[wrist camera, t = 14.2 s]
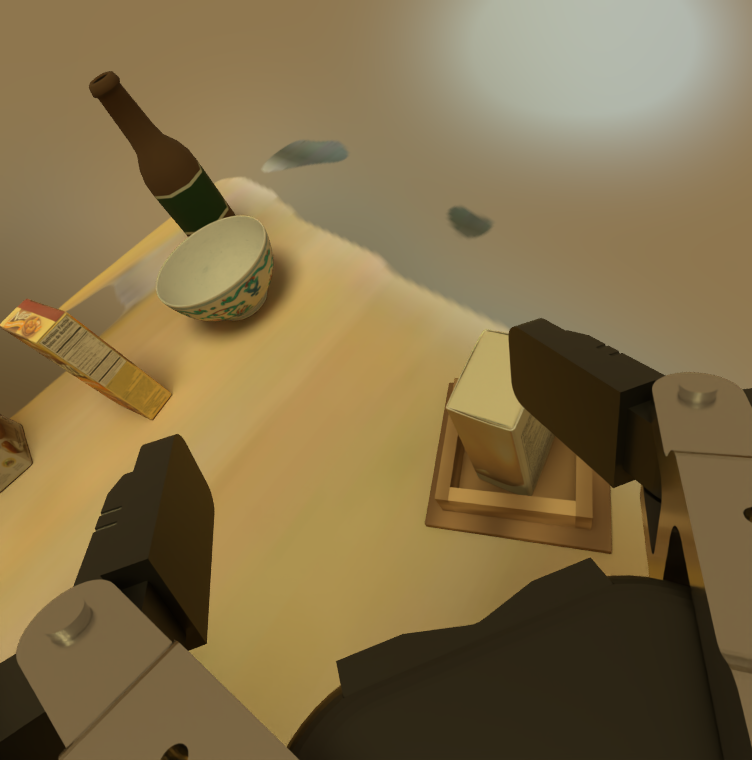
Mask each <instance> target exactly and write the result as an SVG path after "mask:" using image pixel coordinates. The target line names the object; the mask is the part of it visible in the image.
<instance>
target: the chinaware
mask: <svg viewBox="0 0 752 760" xmlns="http://www.w3.org/2000/svg"><path fill="white" fill-rule="evenodd" d="M272 272H273V253H272V248H271V244H270V240H269V237H268V235H267V232H266V230H265V228H264V226H263V224H262V223H261V222H260V221H259V220H257V219H256V218H254V217H251V216H245V215H238V216H231V217H227V218H223V219H220V220H217V221H215V222H213V223H210V224H208V225H206V226H205V227H203V228H201V229H199V230H198V231H196V232H195V233H193V234H192V235H191V236H189V237H188V238H187V239H185V240H184V241H183V242H182V243H181V244H180V245H179V246H178V247H177V248H176V249H175V250H174V251H173V252H172V253H171V254H170V256H169V257H168V258H167V260H166V261H165V263H164V264H163V266H162V268H161V270H160V272H159V274H158V277H157V281H156V292H157V295H158V297H159V299H160V300H161V301H162V302H163V303H164V304H166V305H167V306H168V307H170V308H172V309H173V310H175V311H177V312H179V313H181V314H183V315H186V316H188V317H191V318H194V319H198V320H203V321H223V320H231V321H238V320H242V319H245V318H247V317H249V316H251V315H253V314H254V313H255V312H257V311H258V310H259V309H260V308H261V306H262V305H263V304H264V302H265V300H266V298H267V289H268V286H269V284H270V281H271V277H272Z"/></svg>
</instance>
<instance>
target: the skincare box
mask: <svg viewBox="0 0 752 760" xmlns="http://www.w3.org/2000/svg"><path fill="white" fill-rule="evenodd" d="M508 336H509V333H504V332H499V331H492V330H487V329H485V330H484V331H483V332H482V334H481V336H480V337H479V339H478V341H477V343H476V344H475V346H474V348H473V350H472V352H471V354H470V356H469V358H468V360H467V362H466V364H465V366H464V368H463V370H462V372H461V375H460V377H459V379H458V381H457V383H456V385H455V387H454V390H453V392H452V394H451V396H450V399H449V401H448V403H447V405H446V409H447V411H448V413H449V416H450V418H451V420H452V422H453V424H454V426H455V428H456V430H457V433H458V435H459V437H460V439H461V441H462V443H463V446H464V448H465V450H466V452H467V454H468V456H469V458H470V461H471V463H472V465H473V467H474V469H475V471H476V473H477V476H478V478H480V479H482V480H484V481H486V482H489V483H491V484H493V485H496V486H498V487H500V488H503V489H505V490H508V491H510V492H513V493H515V494H518V495H525V496H532V493H533V491H534V489H535V486H536V484H537V482H538V479H539V477H540V474H541V472H542V469H543V467H544V464H545V462H546V459H547V456H548V454H549V451H550V448H551V445H552V442H553V439H554V436H555V435H554V434H553V433H551V432H550V431H549V430H548V429H547V428H546V427H545V426H544V425H542V424H541V423H540V422H539V421H538V420H537V419H536V418H535V417H534V416H532V415H531V414H530V413H529V412H528V411H527V410H526V409H525V408H524V407H522V406H521V404H520V403H519V402H518V400H517V398H516V396H515V394H514V392H513V388H512V383H511V370H510V355H509V340H508Z"/></svg>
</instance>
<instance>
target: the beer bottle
mask: <svg viewBox="0 0 752 760" xmlns="http://www.w3.org/2000/svg"><path fill="white" fill-rule="evenodd" d="M89 89H90V91H91V93H92V95H93V97H95V98H98V99H99V100H100V102H101V103H102V105H103V106H104V107H105V109H106V110H107V111H108V113H109V114H110V116H111V117H112V118H113V120H114V121H115V123H116V124H117V125H118V126H119V128H120V129H121V131H122V132H123V134H124V135H125V136H126V138H127V139H128V140H129V142H130V143H131V145H132V147H133V149H134V150H135V152H136V154H137V157H138V163H139V168H140V172H141V175H142V177H143V180H144V182H145V184H146V185H147V187H148V188H149V190H150V191H151V193H152V194H153V195H154V196H155V198H156V199H157V200H158V201H159V203H160V204H161V205H162V206H163V207H164V209H165V210H166V211H167V212H168V213H169V215H170V216H171V217H172V218H173V219H174V220H175V222H176V223H177V224H178V225H179V226H180V228H181V229H182V230H183V231H184V232H185V234H186V235H187V236H188V237H189V236H191V235H192V234H193V233H195V232H196V231H198V230H199V229H201V228H203V227H205V226H206V225H208V224H210V223H213V222H215V221H217V220H220V219H223V218H227V217H231V216H236V215H235V214H234V212H233V211H232V209H231V208H230V206H229V205H228V204H227V202H226V201H225V199H224V198H223V196H222V195H221V194H220V192H219V191H218V189H217V188H216V186H215V185H214V184H213V182H212V181H211V179H210V178H209V176H208V175H207V174H206V172H205V171H204V169H203V168H202V167H201V165H200V164H199V162H198V161H197V160H196V158H195V157H194V156H193V155H192V153H191V152H190V151H189V150H188V149H187V148H186V147H184V146H183V145H182V144H181V143H180V142H178V141H177V140H175V139H173V138H170V137H168V136H166V135H164V134H162V132H161V131H160V130H159V129H158V128H157V127H156V126H155V125H154V124H153V123H152V122H151V121H150V119H149V118H148V117H147V116H146V115H145V113H144V112H143V111H142V110H141V108H140V107H139V106H138V105H137V103H136V102H135V101H134V100H133V99H132V97H131V96H130V95H129V94H128V93H127V91H126V90H125V89H124V88H123V86H122V85H121V84H120V79H119V77H118V76H117V75H116V74H115V73H113V72H112V71H109V72H105V73H102V74H101V75H99V76H97V77H96V78H95V79H94V80H93V81H91V82H90V85H89Z"/></svg>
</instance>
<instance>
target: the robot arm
mask: <svg viewBox="0 0 752 760" xmlns="http://www.w3.org/2000/svg"><path fill="white" fill-rule="evenodd" d="M508 340H509V355H510V370H511V383H512V388H513V392H514V394H515V396H516V398H517V400H518V402H519V403H520V404H521V406H522V407H524V408H525V409H526V410H527V411H528V412H529V413H530V414H531V415H532V416H534V417H535V418H536V419H537V420H538V421H539V422H540V423H541V424H542V425H544V426H545V427H546V428H547V429H548V430H549V431H550V432H551V433H553V434H554V435H555V436H556V437H557V438H558V439H559V440H560V441H561V442H563V443H564V444H565V445H566V446H567V447H568V448H569V449H570V450H571V451H573V452H574V453H575V454H576V455H577V456H578V457H579V458H580V459H582V460H583V461H584V462H585V463H586V464H587V465H588V466H589V467H590V468H592V469H593V470H594V471H595V472H596V473H597V474H598V475H599V476H601V477H602V478H603V479H604V480H605V481H606V482H607V483H608V484H609V485H611V486H612V487H613V488H615V487H617V486H620V485H623V484H625V483H628V482H630V481H633V480H636V481H638V482H639V483H640V484H641V491H640V502H641V510H642V519H643V527H644V535H645V544H646V552H647V561H648V571H649V577H641V576H630V575H628V576H606V575H605V574H604V573H603V572H602V570H601V569H600V568H599V567H598V566H597V565H596V563H595V562H594V561H593V560H592V559H591V558H588V559H586V560H583V561H581V562H578V563H576V564H573V565H571V566H568V567H566V568H563V569H561V570H559V571H556V572H554V573H551V574H549V575H546V576H544V577H541V578H539V579H537V580H534V581H532V582H530V583H529V584H528V585H527V586H525V587H524V588H523V589H521V590H520V591H519V592H518V593H516V594H515V595H514V596H513V597H511V598H510V599H509V600H507V601H506V602H505V603H504V604H502V605H501V606H500V607H499V608H497V609H496V610H495V611H493V612H492V613H491V614H490V615H488V616H487V617H486V618H484V619H483V620H482V621H480V622H478V623H476V624H473V625H468V626H460V627H453V628H445V629H438V630H430V631H423V632H415V633H407V634H402V635H399V636H397V637H394V638H392V639H390V640H387V641H385V642H382V643H380V644H377V645H375V646H372V647H370V648H367V649H365V650H363V651H360V652H358V653H355V654H353V655H350V656H348V657H345V658H343V659H341V660H338V661H336V663H337V668H338V673H339V678H340V683H341V685H340V686H339V687H338V688H337V689H335V690H334V691H333V692H332V693H330V694H329V695H328V696H327V697H326V698H325V699H324V700H323V701H322V702H321V703H320V704H319V705H318V706H317V707H316V708H315V709H314V710H313V711H312V712H311V714H310V715H309V716H308V717H307V718H306V720H305V721H304V722H303V723H302V724H301V726H300V727H299V729H298V730H297V732H296V733H295V735H294V736H293V738H292V739H291V740H290V742H289V744H288V745H287V747H286V746H285V745H284V744H283V743H281V742H280V741H279V740H278V739H277V738H276V737H275V736H274V735H273V734H272V733H271V732H270V731H269V730H268V729H267V728H266V727H265V726H264V725H263V724H262V723H261V722H260V721H259V720H258V719H257V718H256V717H255V716H254V715H253V714H252V713H251V712H250V711H249V710H248V709H247V708H246V707H245V706H244V705H243V704H242V703H241V702H240V701H239V700H238V699H237V698H236V697H235V696H233V695H232V694H231V693H230V692H229V691H228V690H227V689H226V688H225V687H224V686H223V685H222V684H221V683H220V682H219V681H218V680H217V679H216V678H215V677H214V676H213V675H212V674H211V673H210V672H209V671H208V670H207V669H206V668H205V667H204V666H203V665H202V664H201V663H200V662H199V661H198V660H197V659H196V658H195V657H194V656H193V655H192V654H191V653H190V652H189V650H192V649H194V648H197V647H200V646H202V645H205V644H207V630H208V613H209V596H210V579H211V562H212V545H213V528H214V503H213V498H212V495H211V491H210V489H209V486H208V484H207V482H206V480H205V478H204V477H203V475H202V473H201V471H200V469H199V467H198V465H197V463H196V461H195V459H194V458H193V456H192V454H191V452H190V450H189V448H188V446H187V444H186V442H185V441H184V439H183V438H182V437H181V436H180V435H179V434H175V435H172V436H169V437H166V438H163V439H160V440H157V441H154V442H151V443H147V444H144V445H142V447H141V449H140V452H139V455H138V458H137V461H136V464H135V467H134V470H133V472H131V473H127V474H124V475H123V476H122V477H121V479H120V480H119V481H118V482H117V483H116V485H115V486H114V487H113V488H112V489H111V491H110V492H109V493H108V495H107V497H106V500H105V503H104V505H103V508H102V511H101V515H102V516H100V517H99V519H98V522H97V524H96V527H95V530H96V532H94V533H93V535H92V538H91V540H90V543H89V546H88V548H87V551H86V554H85V556H84V559H83V562H82V565H81V567H80V570H79V573H78V575H77V578H76V581H75V583H74V586H73V587H72V588H70V589H68V590H67V591H65V592H64V593H62V594H60V595H59V596H58V597H56V598H55V599H53V600H52V601H51V602H50V603H49V604H47V605H46V606H45V607H44V608H43V609H42V610H41V611H40V612H39V613H38V614H37V615H36V616H35V617H34V619H33V620H32V621H31V622H30V624H29V625H28V626H27V628H26V629H25V631H24V633H23V634H22V636H21V638H20V641H19V643H18V646H17V651H16V654H15V655H13V656H11V657H10V658H8V659H7V660H5V661H3V662H2V663H0V760H752V388H751V389H741V388H740V387H739V386H738V385H736V384H735V383H733V382H731V381H729V380H727V379H724V378H722V377H719V376H715V375H711V374H706V373H695V372H684V373H675V374H670V375H667V376H665V375H663V374H661V373H659V372H657V371H656V370H654V369H652V368H650V367H648V366H646V365H644V364H642V363H640V362H638V361H636V360H635V359H633V358H631V357H629V356H627V355H625V354H623V353H621V354H620V353H619V351H617V350H616V349H614V348H612V347H610V346H605V344H604V343H602V342H600V341H599V340H597V339H595V338H593V337H591V336H589V335H585V334H581V333H576V332H572V331H565V330H563V329H561V328H560V327H558V326H556V325H554V324H552V323H550V322H549V321H547V320H545V319H542V318H540V319H536V320H534V321H530V322H527V323H524V324H521V325H518V326H514V327H512V328H511V329H510V331H509V336H508Z"/></svg>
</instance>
